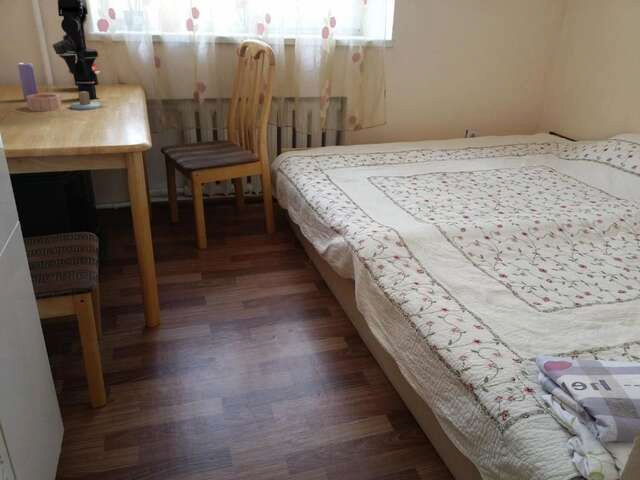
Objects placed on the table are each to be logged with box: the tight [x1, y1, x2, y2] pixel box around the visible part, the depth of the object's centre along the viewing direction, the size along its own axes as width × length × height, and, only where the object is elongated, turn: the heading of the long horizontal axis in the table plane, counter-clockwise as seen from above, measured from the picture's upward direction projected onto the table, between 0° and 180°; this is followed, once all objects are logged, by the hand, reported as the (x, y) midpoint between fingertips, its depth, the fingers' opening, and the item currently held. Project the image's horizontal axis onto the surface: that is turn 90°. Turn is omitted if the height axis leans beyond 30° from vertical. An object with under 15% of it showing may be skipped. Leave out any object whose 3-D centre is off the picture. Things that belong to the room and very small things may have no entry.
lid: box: [70, 91, 101, 111], centre depth 213 cm, size 11×11×6 cm
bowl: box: [26, 93, 63, 112], centre depth 210 cm, size 12×12×5 cm
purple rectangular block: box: [17, 62, 40, 102], centre depth 224 cm, size 6×6×15 cm
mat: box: [65, 105, 106, 112], centre depth 214 cm, size 12×10×1 cm
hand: (80, 74), depth 209 cm, fingers open, 9 cm apart
